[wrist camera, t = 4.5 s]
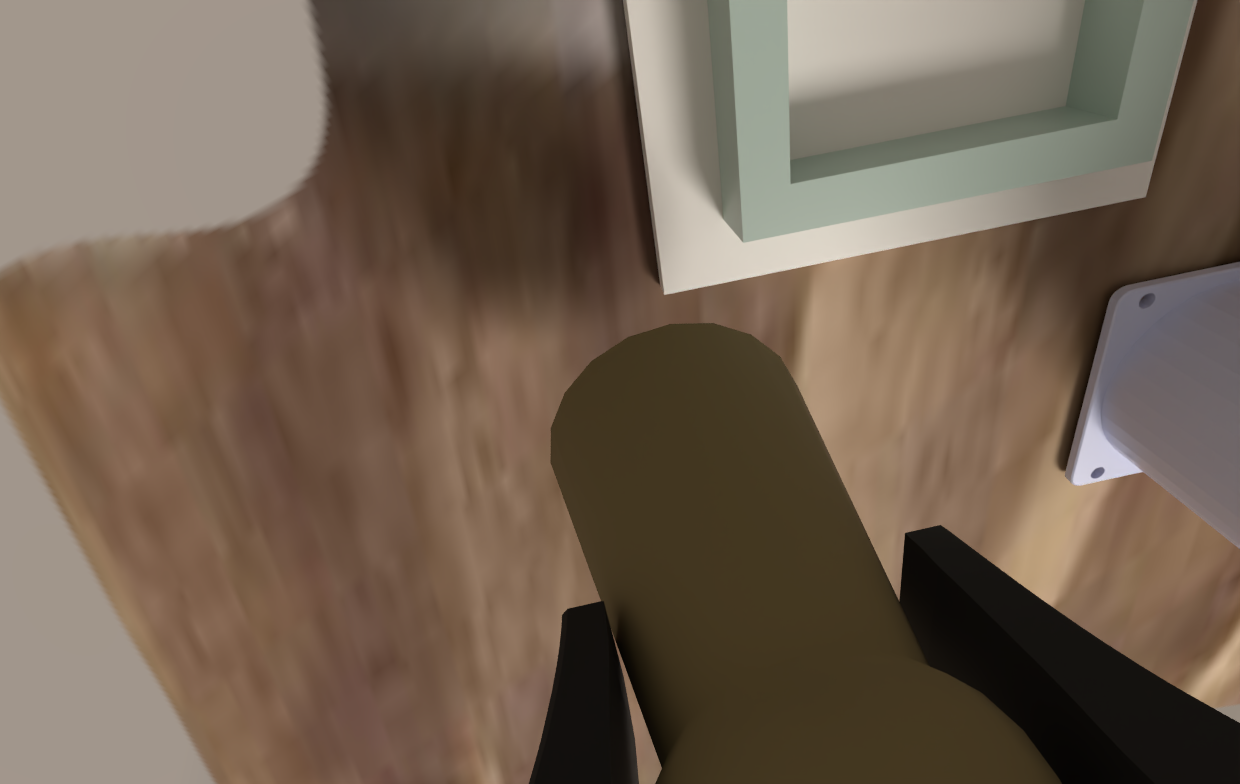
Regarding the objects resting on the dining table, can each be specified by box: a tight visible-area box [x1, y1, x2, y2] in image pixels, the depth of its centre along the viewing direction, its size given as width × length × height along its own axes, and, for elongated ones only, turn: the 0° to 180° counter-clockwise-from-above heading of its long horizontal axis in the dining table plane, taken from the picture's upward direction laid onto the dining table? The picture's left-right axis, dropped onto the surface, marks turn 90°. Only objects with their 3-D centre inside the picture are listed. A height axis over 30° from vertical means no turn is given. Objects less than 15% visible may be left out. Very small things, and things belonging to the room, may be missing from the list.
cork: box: [551, 323, 1062, 784], centre depth 12 cm, size 6×6×11 cm
